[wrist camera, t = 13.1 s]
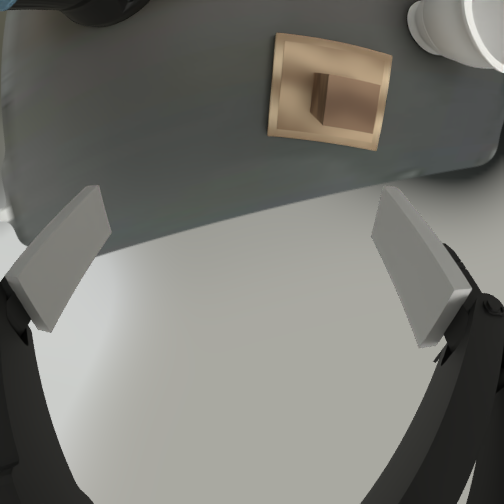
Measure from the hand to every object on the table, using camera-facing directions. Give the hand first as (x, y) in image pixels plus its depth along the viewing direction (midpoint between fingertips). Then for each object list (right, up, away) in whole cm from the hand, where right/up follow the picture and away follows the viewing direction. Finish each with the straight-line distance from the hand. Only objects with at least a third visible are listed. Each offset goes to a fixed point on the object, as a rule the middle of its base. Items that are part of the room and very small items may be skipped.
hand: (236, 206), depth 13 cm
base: (+10, +18, +19) cm, 28 cm away
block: (+10, +16, +17) cm, 25 cm away
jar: (+25, +28, +11) cm, 39 cm away
